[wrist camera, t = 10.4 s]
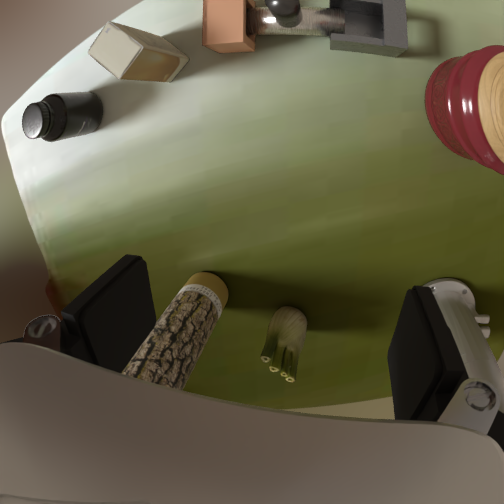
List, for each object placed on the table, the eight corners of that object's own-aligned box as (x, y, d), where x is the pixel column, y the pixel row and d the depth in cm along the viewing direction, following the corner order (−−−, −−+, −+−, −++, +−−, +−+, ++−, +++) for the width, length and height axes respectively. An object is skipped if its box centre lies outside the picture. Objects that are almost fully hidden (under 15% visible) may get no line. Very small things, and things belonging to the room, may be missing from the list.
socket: (255, 2, 30) (243, -14, 24) (255, 51, 33) (242, 41, 27) (220, 5, 30) (203, -9, 25) (219, 53, 34) (202, 45, 28)
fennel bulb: (270, 303, 47) (253, 358, 37) (302, 297, 46) (292, 353, 35) (282, 332, 49) (268, 388, 39) (312, 327, 48) (305, 385, 37)
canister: (438, 167, 34) (506, 210, 18) (407, 67, 29) (465, 40, 14) (514, 147, 29) (597, 179, 14) (488, 53, 25) (569, 37, 9)
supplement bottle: (101, 136, 42) (45, 151, 31) (71, 130, 42) (15, 144, 32) (108, 93, 38) (50, 97, 28) (76, 89, 39) (19, 94, 28)
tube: (342, 14, 28) (347, -15, 19) (343, 40, 29) (349, 18, 21) (242, 13, 30) (217, -13, 22) (242, 38, 32) (216, 18, 23)
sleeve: (394, 14, 27) (405, 0, 21) (395, 57, 29) (407, 49, 24) (329, 6, 28) (329, -11, 23) (330, 49, 31) (331, 38, 25)
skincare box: (141, 59, 35) (84, 51, 25) (160, 35, 34) (106, 18, 23) (171, 85, 36) (118, 81, 26) (192, 60, 34) (143, 46, 24)
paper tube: (187, 266, 48) (94, 384, 26) (230, 274, 47) (155, 408, 25) (189, 302, 51) (111, 421, 29) (229, 311, 50) (165, 443, 28)
